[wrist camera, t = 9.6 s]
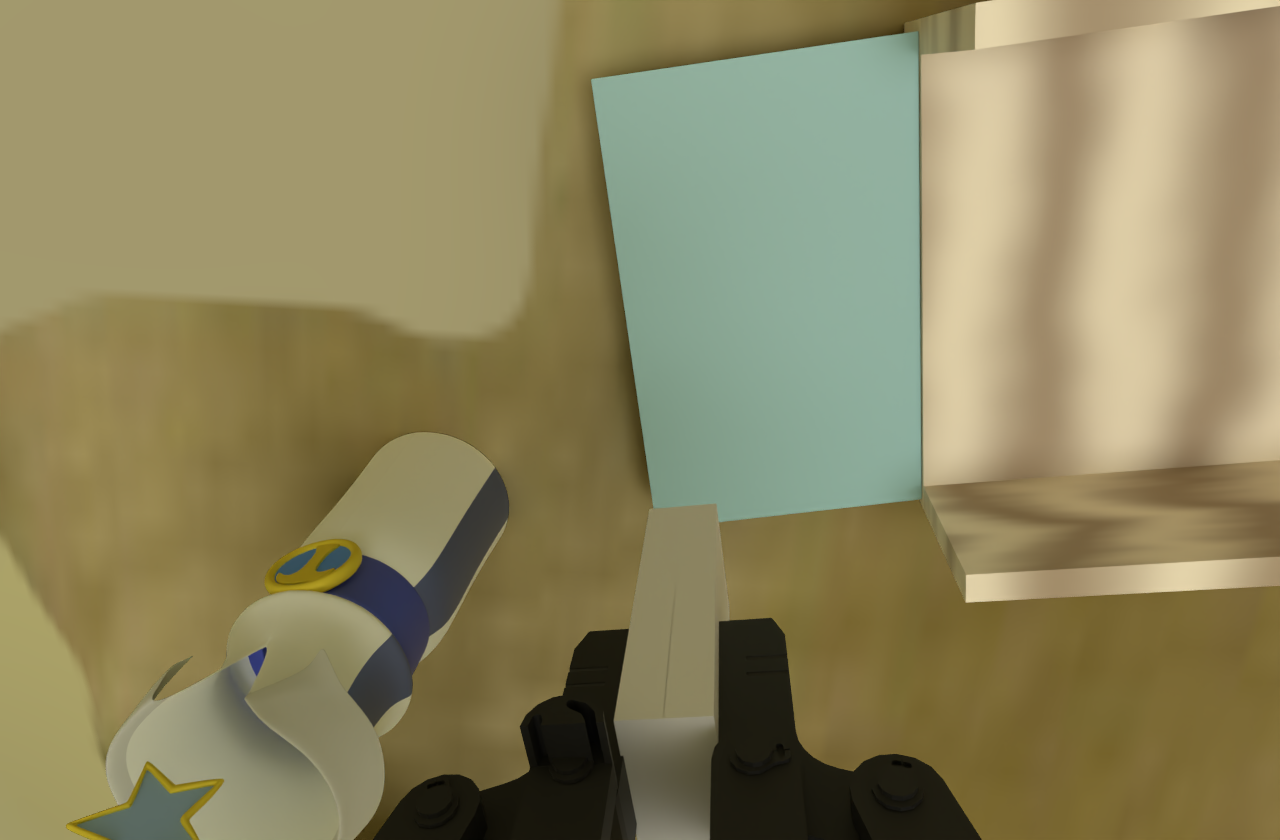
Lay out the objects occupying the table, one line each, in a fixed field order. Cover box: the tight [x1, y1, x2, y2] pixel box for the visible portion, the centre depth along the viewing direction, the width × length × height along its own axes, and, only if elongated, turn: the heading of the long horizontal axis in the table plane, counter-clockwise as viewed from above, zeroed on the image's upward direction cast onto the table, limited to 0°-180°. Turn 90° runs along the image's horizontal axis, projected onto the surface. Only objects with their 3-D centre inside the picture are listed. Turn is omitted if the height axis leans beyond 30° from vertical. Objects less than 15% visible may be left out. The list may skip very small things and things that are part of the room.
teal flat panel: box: [591, 31, 922, 522], centre depth 35 cm, size 2×19×12 cm
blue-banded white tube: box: [66, 432, 509, 840], centre depth 31 cm, size 8×8×25 cm
